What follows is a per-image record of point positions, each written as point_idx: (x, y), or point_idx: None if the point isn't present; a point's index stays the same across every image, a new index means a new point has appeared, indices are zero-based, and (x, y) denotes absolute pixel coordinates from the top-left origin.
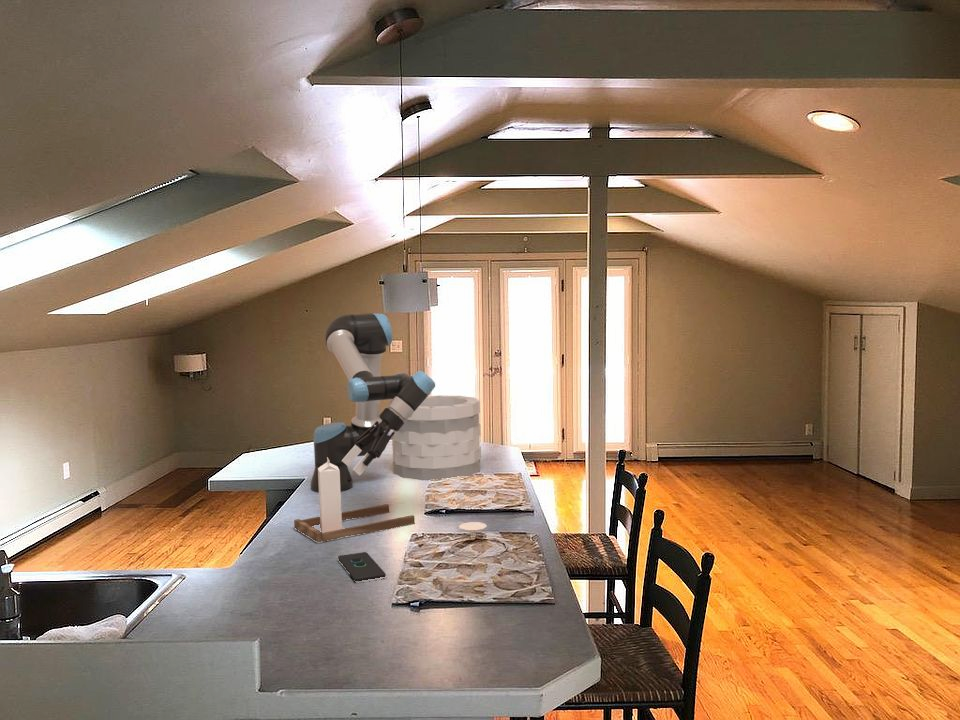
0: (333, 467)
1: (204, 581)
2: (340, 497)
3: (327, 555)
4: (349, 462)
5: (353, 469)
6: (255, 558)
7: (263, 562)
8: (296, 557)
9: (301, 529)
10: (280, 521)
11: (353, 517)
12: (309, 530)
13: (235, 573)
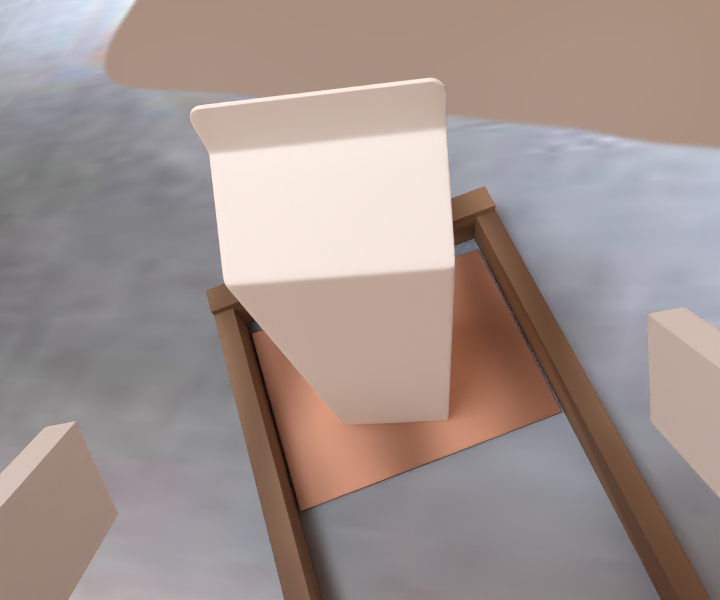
0: (225, 205)
1: (25, 24)
2: (300, 371)
3: (54, 344)
4: (679, 429)
5: (46, 430)
6: (153, 114)
7: (99, 140)
8: (93, 235)
9: None
10: (638, 151)
11: (621, 516)
12: None
13: (43, 81)
